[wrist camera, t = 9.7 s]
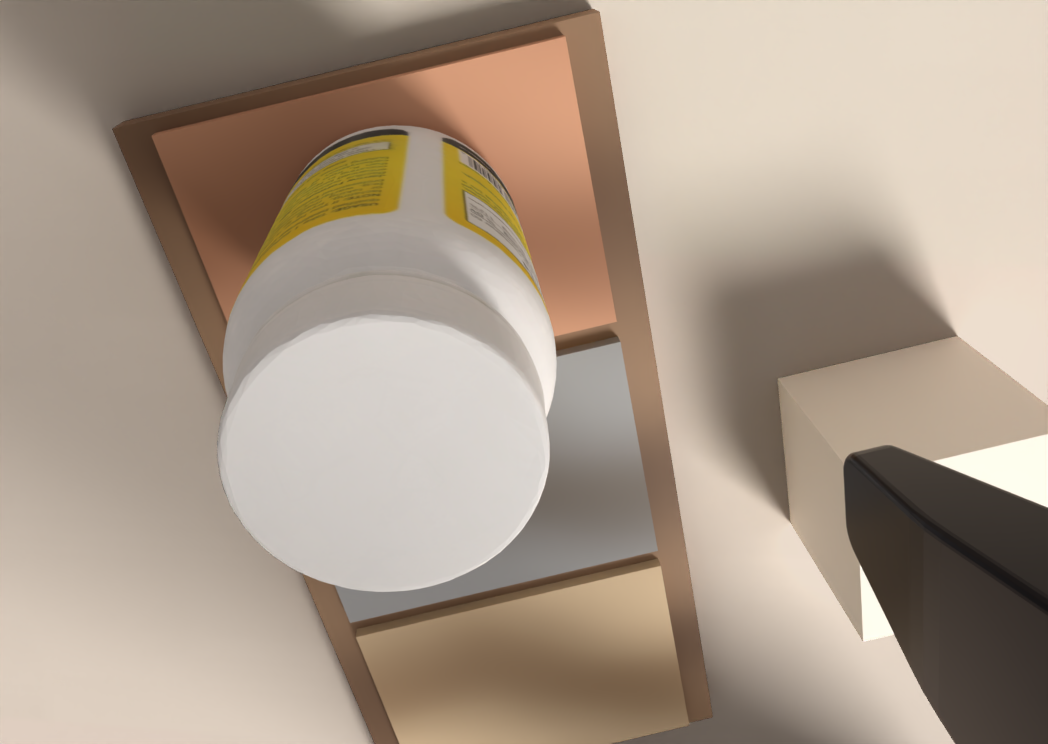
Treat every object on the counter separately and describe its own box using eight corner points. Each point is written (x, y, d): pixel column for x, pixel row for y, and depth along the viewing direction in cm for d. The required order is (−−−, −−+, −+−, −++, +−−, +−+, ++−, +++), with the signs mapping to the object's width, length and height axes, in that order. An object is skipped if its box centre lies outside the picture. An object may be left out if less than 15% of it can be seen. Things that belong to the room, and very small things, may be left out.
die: (953, 482, 24) (1063, 598, 20) (789, 521, 24) (865, 644, 20) (955, 334, 22) (1079, 429, 18) (776, 377, 22) (858, 482, 18)
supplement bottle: (267, 318, 18) (154, 586, 11) (304, 92, 16) (197, 233, 9) (489, 364, 19) (524, 640, 12) (548, 156, 17) (634, 330, 10)
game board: (706, 698, 26) (715, 725, 25) (396, 771, 26) (395, 800, 25) (593, 8, 17) (601, 13, 16) (123, 121, 17) (107, 132, 16)
